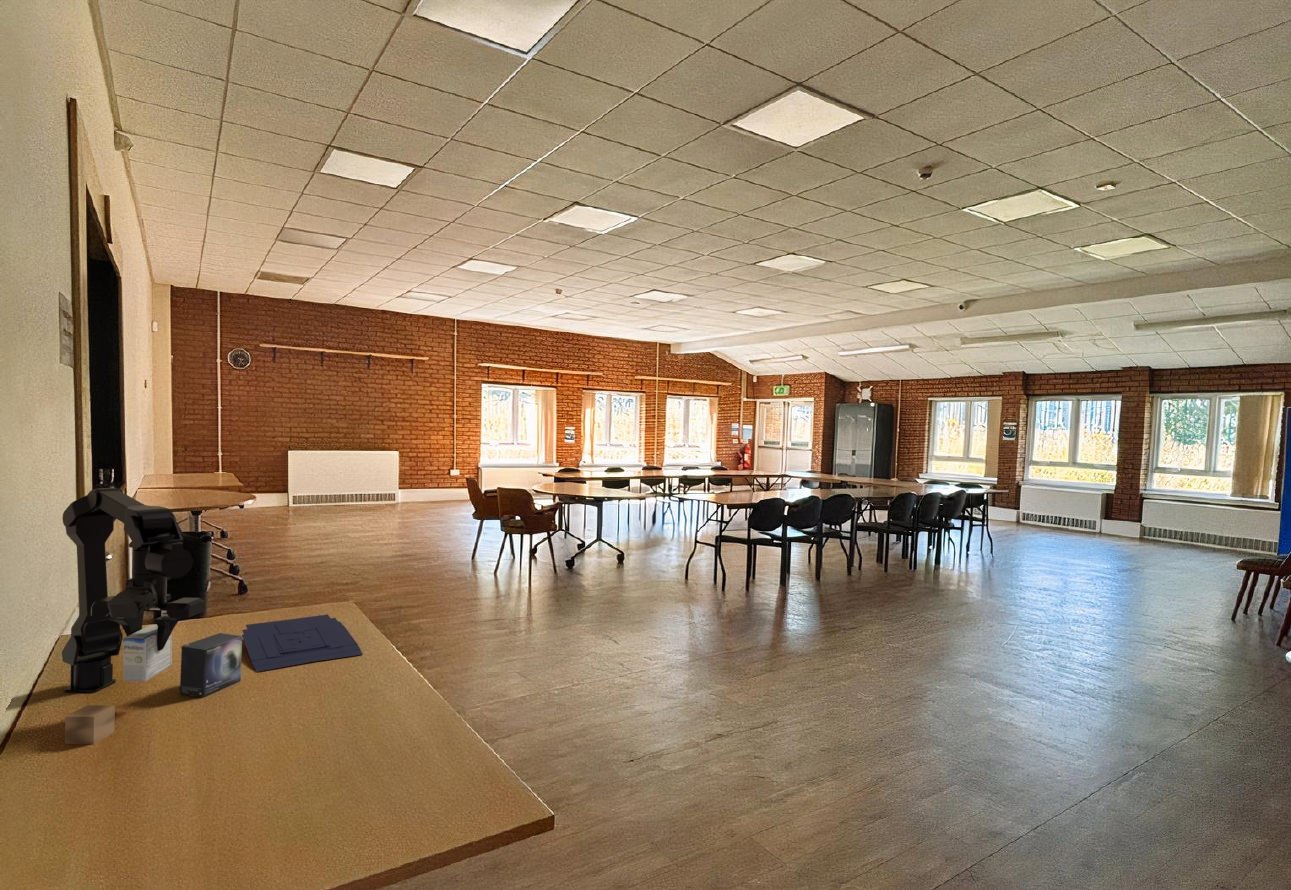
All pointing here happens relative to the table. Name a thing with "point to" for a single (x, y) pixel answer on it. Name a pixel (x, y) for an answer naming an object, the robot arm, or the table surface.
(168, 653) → the medicine box
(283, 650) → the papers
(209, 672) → the small box
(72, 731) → the light brown cube
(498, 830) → the table surface
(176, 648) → the table surface
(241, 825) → the table surface
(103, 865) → the table surface
